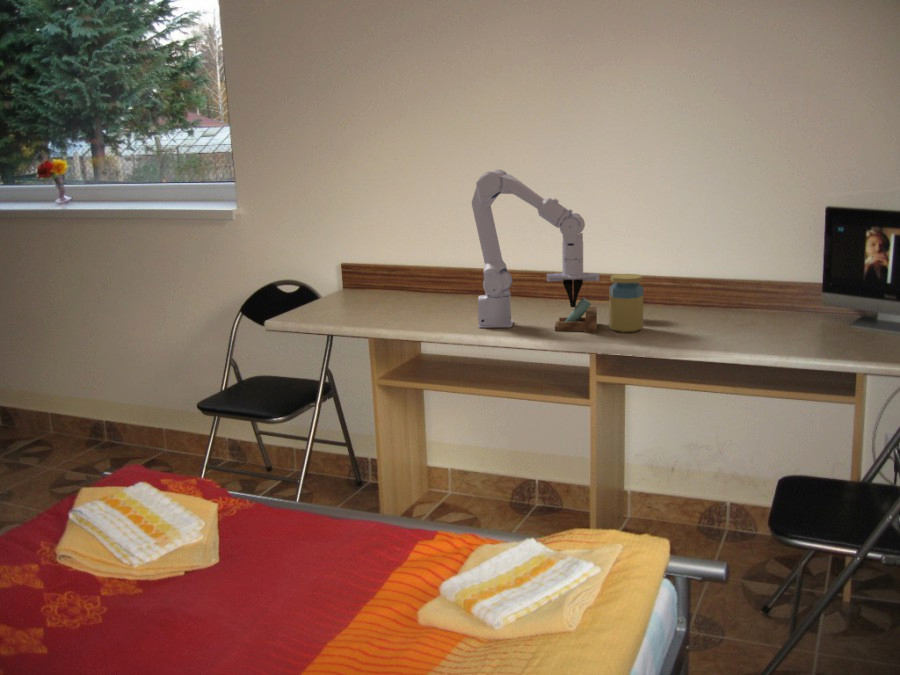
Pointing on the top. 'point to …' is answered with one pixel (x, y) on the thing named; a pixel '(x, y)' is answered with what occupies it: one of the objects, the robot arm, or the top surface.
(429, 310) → the top surface
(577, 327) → the cradle
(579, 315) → the peg
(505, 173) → the robot arm
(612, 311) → the jar
